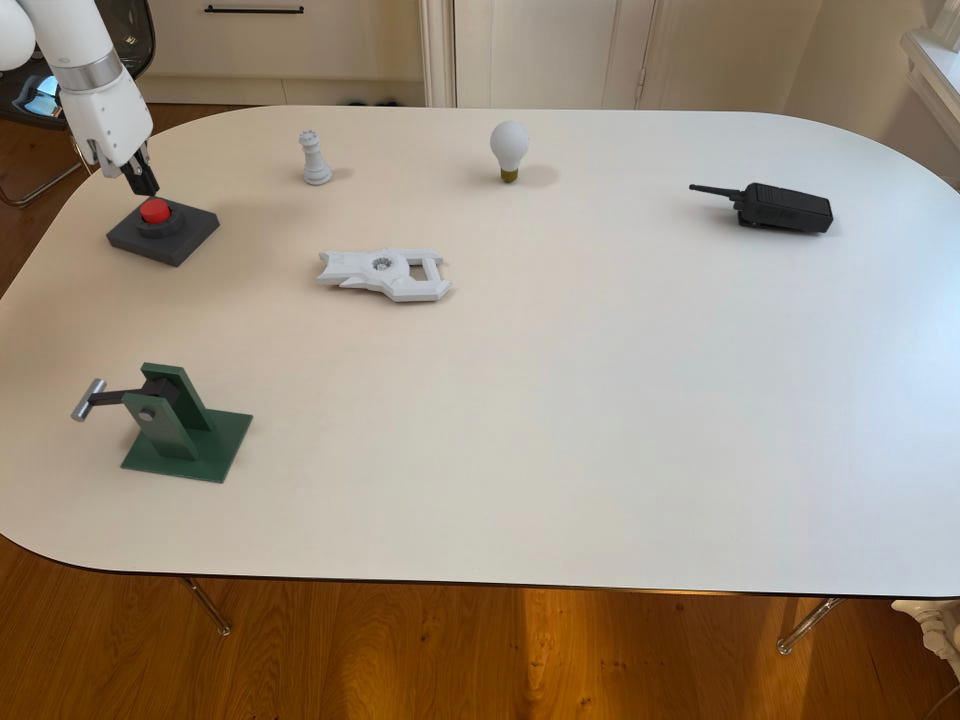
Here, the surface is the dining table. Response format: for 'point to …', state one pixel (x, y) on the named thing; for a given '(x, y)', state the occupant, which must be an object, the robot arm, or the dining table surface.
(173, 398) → the switch lever
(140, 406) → the bracket
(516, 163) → the light bulb
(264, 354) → the dining table surface
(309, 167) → the rook chess piece
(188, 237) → the button box
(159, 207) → the stop button
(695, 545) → the dining table surface
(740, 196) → the walkie-talkie
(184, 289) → the dining table surface
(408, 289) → the gun
